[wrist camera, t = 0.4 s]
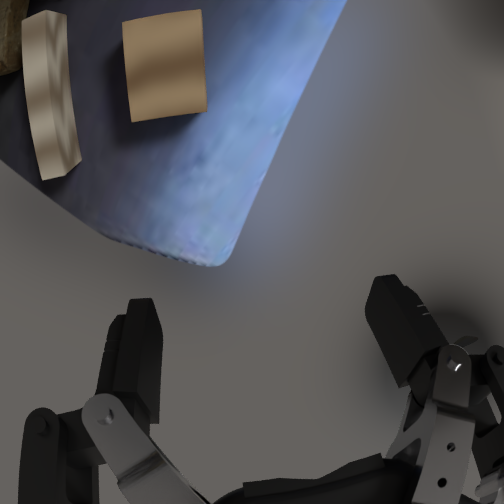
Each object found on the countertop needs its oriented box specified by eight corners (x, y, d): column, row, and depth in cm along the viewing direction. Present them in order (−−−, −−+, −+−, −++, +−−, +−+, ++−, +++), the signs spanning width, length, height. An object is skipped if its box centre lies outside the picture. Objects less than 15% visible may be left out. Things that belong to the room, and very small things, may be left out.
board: (44, 23, 19) (21, 20, 15) (66, 14, 19) (45, 9, 15) (61, 164, 29) (42, 180, 25) (81, 160, 30) (64, 175, 25)
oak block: (135, 28, 23) (122, 22, 18) (202, 18, 23) (200, 9, 19) (142, 114, 28) (131, 122, 24) (207, 105, 29) (206, 111, 25)
